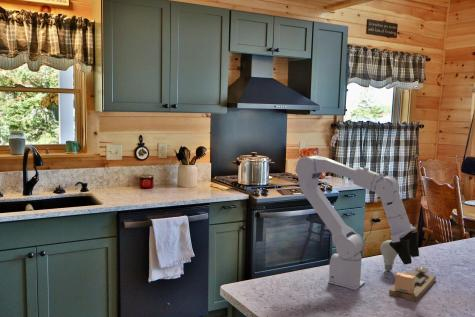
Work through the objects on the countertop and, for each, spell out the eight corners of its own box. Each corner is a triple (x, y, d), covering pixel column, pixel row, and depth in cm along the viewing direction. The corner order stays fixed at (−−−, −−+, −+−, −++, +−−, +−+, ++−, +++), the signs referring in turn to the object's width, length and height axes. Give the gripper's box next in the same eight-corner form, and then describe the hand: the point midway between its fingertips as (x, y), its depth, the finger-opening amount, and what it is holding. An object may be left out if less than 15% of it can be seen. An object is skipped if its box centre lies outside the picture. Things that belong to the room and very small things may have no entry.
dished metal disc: (413, 274, 148) (413, 268, 148) (416, 271, 152) (417, 265, 151) (425, 277, 146) (426, 271, 146) (429, 274, 149) (429, 268, 149)
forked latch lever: (394, 290, 135) (395, 274, 134) (409, 275, 147) (410, 261, 146) (411, 294, 132) (412, 278, 131) (425, 279, 144) (426, 264, 143)
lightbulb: (401, 273, 154) (403, 242, 153) (387, 275, 152) (389, 243, 151) (389, 267, 160) (391, 237, 159) (375, 269, 157) (377, 238, 156)
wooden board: (388, 294, 136) (389, 289, 136) (410, 274, 153) (410, 270, 153) (416, 301, 131) (416, 296, 131) (435, 280, 148) (435, 275, 148)
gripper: (402, 217, 125) (418, 265, 124) (416, 208, 137) (431, 251, 135) (378, 223, 130) (394, 268, 128) (394, 213, 141) (409, 255, 140)
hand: (411, 260), depth 132 cm, fingers open, 7 cm apart
